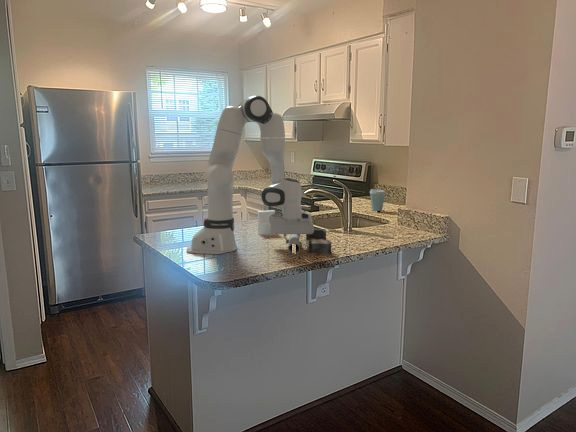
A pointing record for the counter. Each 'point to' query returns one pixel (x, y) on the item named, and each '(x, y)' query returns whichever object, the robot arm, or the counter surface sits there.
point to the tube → (293, 240)
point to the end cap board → (318, 243)
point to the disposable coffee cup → (377, 199)
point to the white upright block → (264, 222)
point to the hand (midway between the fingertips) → (291, 243)
